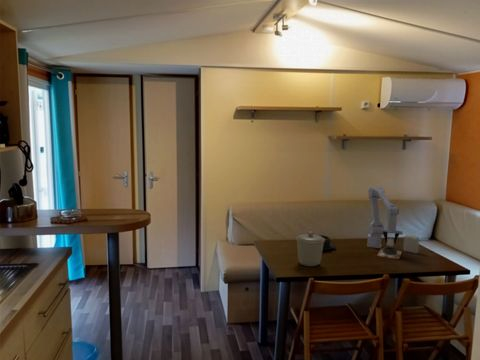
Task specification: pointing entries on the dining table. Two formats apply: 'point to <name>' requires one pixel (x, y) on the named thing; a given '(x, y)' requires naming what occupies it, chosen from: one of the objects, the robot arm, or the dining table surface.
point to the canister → (309, 249)
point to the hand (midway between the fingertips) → (390, 243)
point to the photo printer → (411, 243)
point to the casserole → (327, 243)
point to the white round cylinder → (390, 241)
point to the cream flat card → (389, 253)
